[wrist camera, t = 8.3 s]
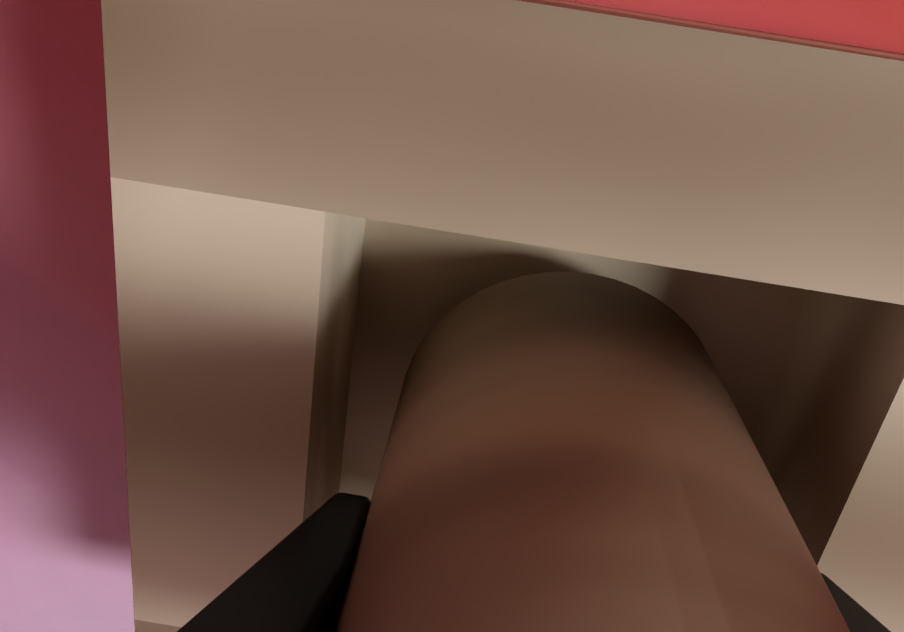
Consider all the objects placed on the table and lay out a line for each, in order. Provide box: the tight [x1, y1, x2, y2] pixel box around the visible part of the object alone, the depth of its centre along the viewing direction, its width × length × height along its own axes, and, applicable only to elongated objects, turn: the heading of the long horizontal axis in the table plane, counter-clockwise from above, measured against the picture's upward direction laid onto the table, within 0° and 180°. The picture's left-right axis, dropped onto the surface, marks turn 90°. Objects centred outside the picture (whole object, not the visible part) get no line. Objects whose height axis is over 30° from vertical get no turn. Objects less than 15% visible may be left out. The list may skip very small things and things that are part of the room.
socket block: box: [101, 0, 904, 632], centre depth 12 cm, size 12×12×4 cm
